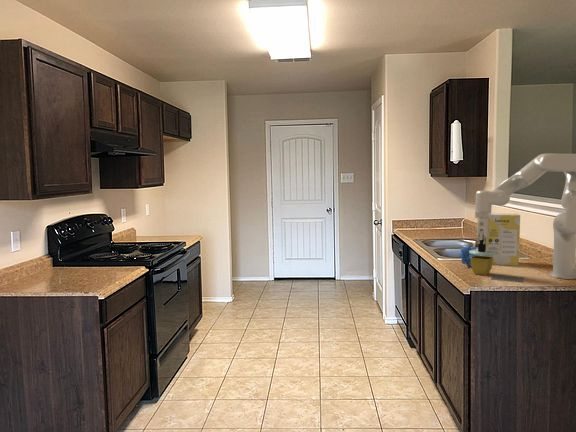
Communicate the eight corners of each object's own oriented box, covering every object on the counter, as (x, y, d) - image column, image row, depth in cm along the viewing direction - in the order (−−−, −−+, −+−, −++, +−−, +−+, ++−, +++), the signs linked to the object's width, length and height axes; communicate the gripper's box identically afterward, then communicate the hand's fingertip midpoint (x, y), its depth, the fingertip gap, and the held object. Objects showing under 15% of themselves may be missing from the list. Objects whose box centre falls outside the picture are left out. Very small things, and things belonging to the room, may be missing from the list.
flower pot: (475, 272, 248) (475, 255, 247) (493, 274, 243) (493, 256, 242) (469, 275, 242) (470, 257, 241) (487, 277, 236) (488, 259, 235)
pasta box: (515, 262, 274) (516, 213, 271) (518, 265, 264) (520, 215, 261) (481, 260, 279) (482, 213, 276) (483, 264, 269) (484, 214, 266)
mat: (524, 278, 233) (524, 277, 233) (523, 283, 222) (523, 282, 222) (493, 275, 240) (493, 274, 240) (490, 280, 229) (490, 279, 229)
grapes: (461, 268, 257) (461, 246, 256) (457, 266, 264) (458, 244, 262) (483, 268, 256) (483, 246, 255) (479, 266, 263) (479, 244, 261)
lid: (495, 252, 244) (496, 240, 243) (493, 256, 233) (493, 244, 232) (471, 251, 249) (471, 239, 249) (467, 254, 239) (467, 242, 238)
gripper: (489, 216, 230) (488, 254, 232) (492, 214, 245) (491, 249, 246) (472, 216, 234) (471, 253, 236) (477, 213, 248) (476, 248, 250)
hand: (482, 250), depth 241 cm, fingers closed on lid, 3 cm apart
